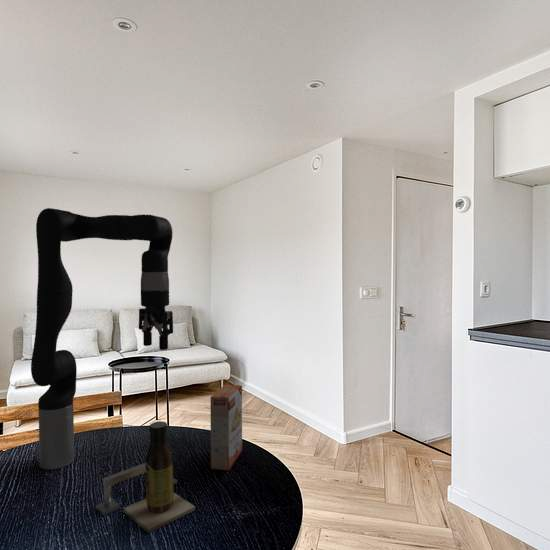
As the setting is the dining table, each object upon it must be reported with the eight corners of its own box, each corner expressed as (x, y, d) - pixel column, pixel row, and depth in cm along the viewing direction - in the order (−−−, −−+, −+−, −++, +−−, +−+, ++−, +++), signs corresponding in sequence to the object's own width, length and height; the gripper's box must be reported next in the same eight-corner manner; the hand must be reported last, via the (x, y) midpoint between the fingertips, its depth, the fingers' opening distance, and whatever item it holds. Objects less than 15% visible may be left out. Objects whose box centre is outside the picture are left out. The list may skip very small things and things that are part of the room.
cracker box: (230, 471, 117) (229, 397, 117) (209, 470, 119) (208, 396, 118) (243, 450, 131) (242, 384, 131) (225, 449, 132) (224, 383, 132)
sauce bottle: (151, 499, 102) (149, 418, 102) (176, 499, 102) (174, 418, 102) (142, 515, 95) (140, 428, 95) (169, 514, 95) (168, 428, 95)
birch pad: (123, 511, 98) (123, 508, 98) (168, 491, 107) (168, 488, 107) (148, 533, 90) (148, 529, 90) (195, 510, 99) (195, 506, 99)
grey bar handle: (95, 508, 100) (95, 478, 100) (169, 478, 114) (169, 451, 114) (102, 515, 97) (102, 484, 97) (177, 483, 111) (177, 456, 111)
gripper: (129, 288, 117) (130, 346, 117) (156, 289, 107) (156, 353, 107) (154, 287, 122) (154, 342, 122) (181, 288, 112) (181, 349, 112)
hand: (155, 347), depth 115 cm, fingers open, 8 cm apart
